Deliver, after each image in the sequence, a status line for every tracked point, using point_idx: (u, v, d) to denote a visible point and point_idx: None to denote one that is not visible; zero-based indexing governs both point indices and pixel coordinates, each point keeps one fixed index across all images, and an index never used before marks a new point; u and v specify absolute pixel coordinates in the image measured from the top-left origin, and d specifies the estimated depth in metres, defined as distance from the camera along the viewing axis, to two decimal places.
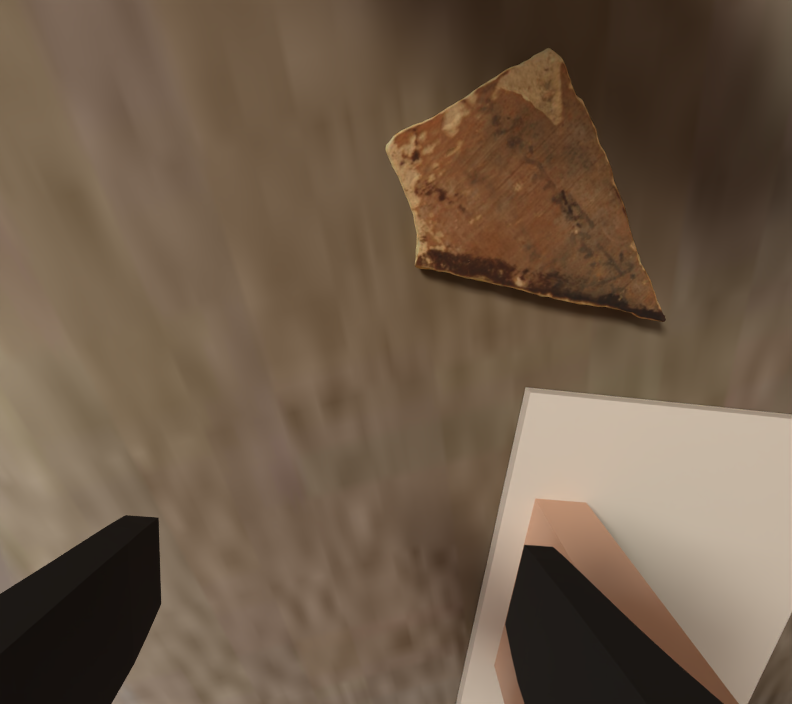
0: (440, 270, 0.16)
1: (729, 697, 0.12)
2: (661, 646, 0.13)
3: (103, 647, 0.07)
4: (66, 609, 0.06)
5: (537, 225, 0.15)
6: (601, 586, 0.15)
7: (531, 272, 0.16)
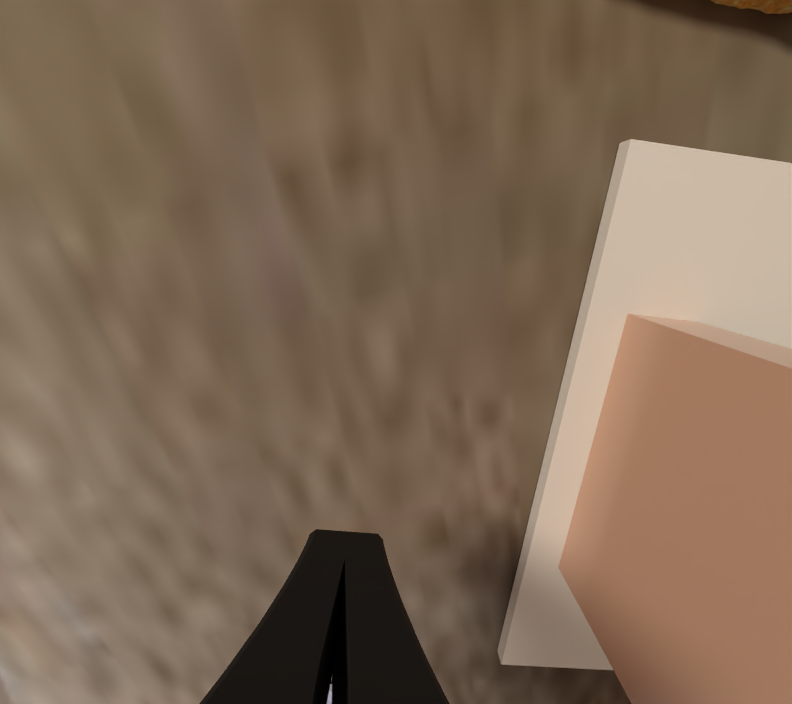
0: None
1: None
2: None
3: (330, 659, 0.07)
4: (329, 624, 0.06)
5: None
6: (779, 358, 0.09)
7: None
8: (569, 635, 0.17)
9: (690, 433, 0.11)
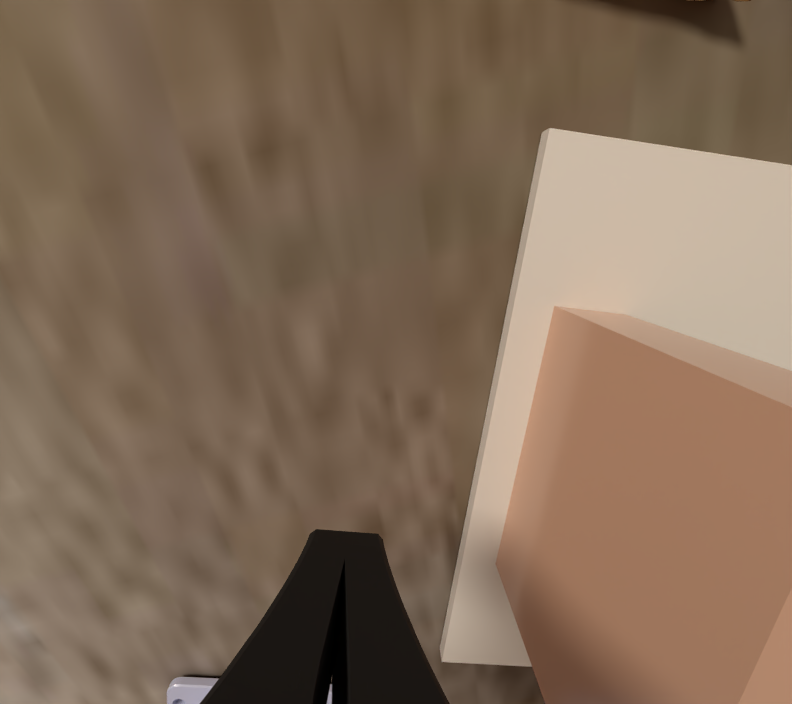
0: None
1: None
2: None
3: (330, 658, 0.07)
4: (329, 624, 0.06)
5: None
6: (671, 347, 0.09)
7: None
8: (510, 633, 0.17)
9: (596, 425, 0.11)
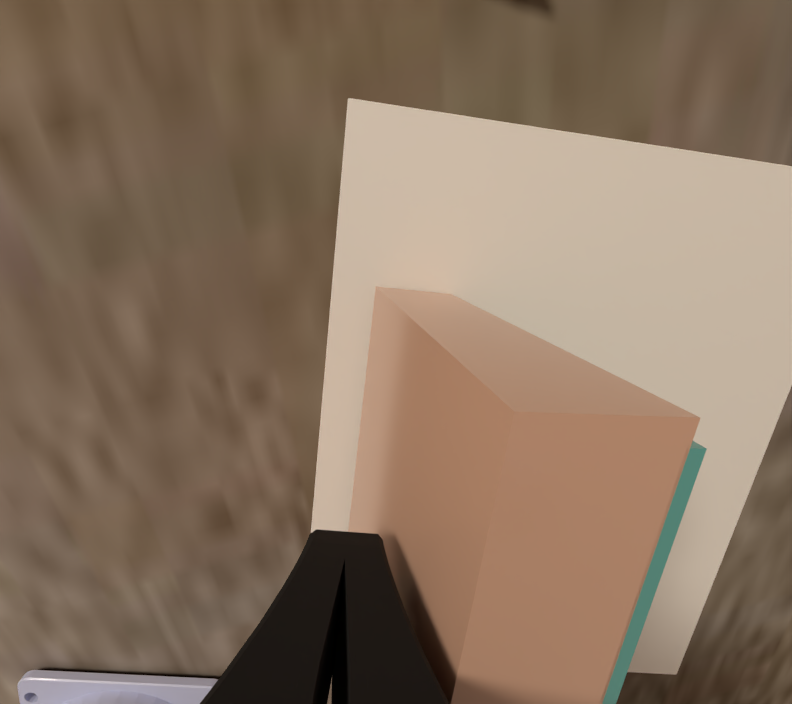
0: None
1: (651, 403, 0.06)
2: (529, 359, 0.07)
3: (330, 659, 0.07)
4: (329, 624, 0.06)
5: None
6: (442, 324, 0.08)
7: None
8: None
9: (391, 410, 0.10)
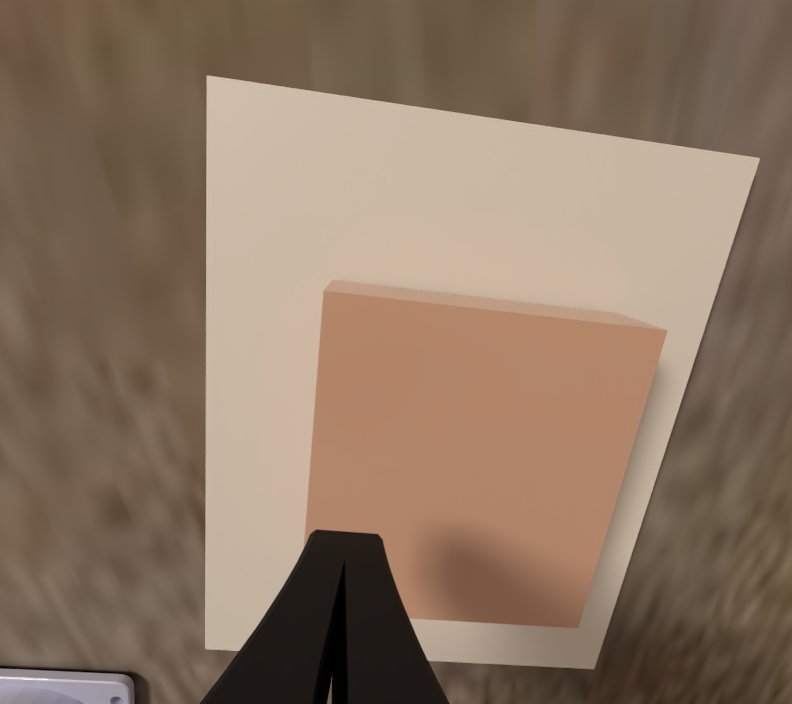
0: None
1: None
2: (572, 312, 0.12)
3: (330, 659, 0.07)
4: (329, 624, 0.06)
5: None
6: (507, 308, 0.11)
7: None
8: None
9: (462, 393, 0.11)
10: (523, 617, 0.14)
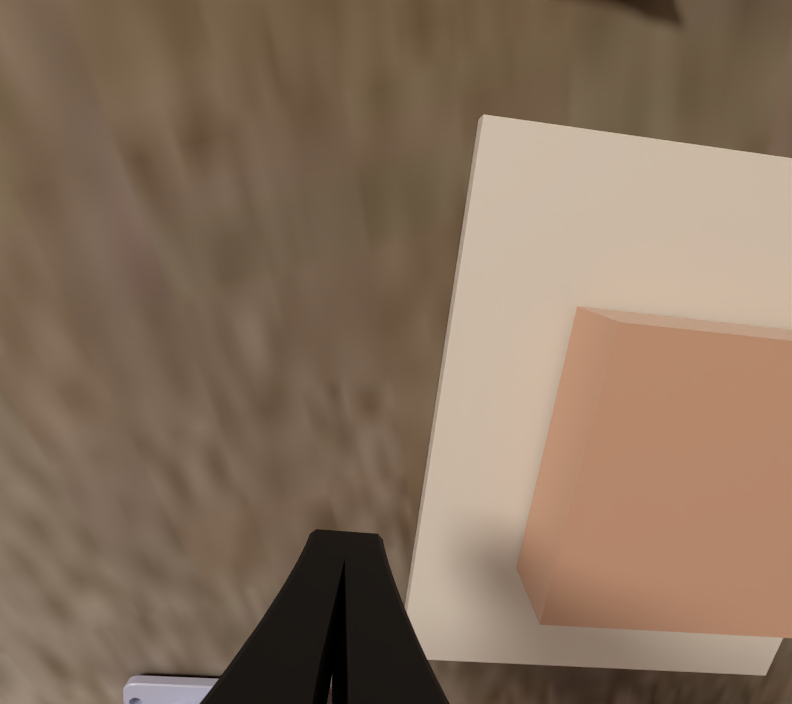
0: None
1: None
2: None
3: (330, 659, 0.07)
4: (329, 624, 0.06)
5: None
6: (773, 335, 0.12)
7: None
8: (467, 628, 0.17)
9: (730, 416, 0.12)
10: (748, 628, 0.14)
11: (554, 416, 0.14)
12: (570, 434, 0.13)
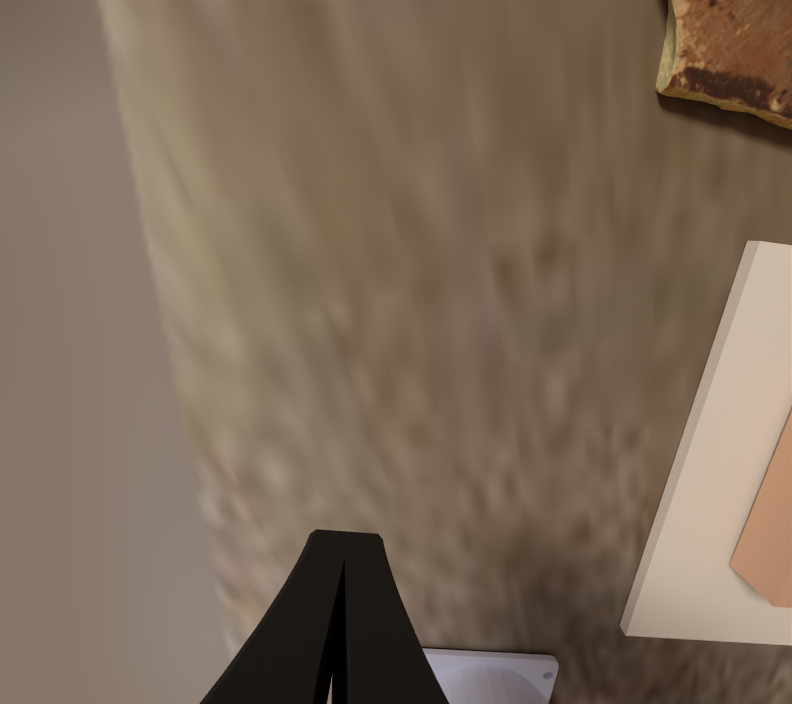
0: (693, 92, 0.15)
1: None
2: None
3: (330, 659, 0.07)
4: (329, 624, 0.06)
5: None
6: None
7: (790, 93, 0.15)
8: (681, 612, 0.22)
9: None
10: None
11: (780, 452, 0.19)
12: None
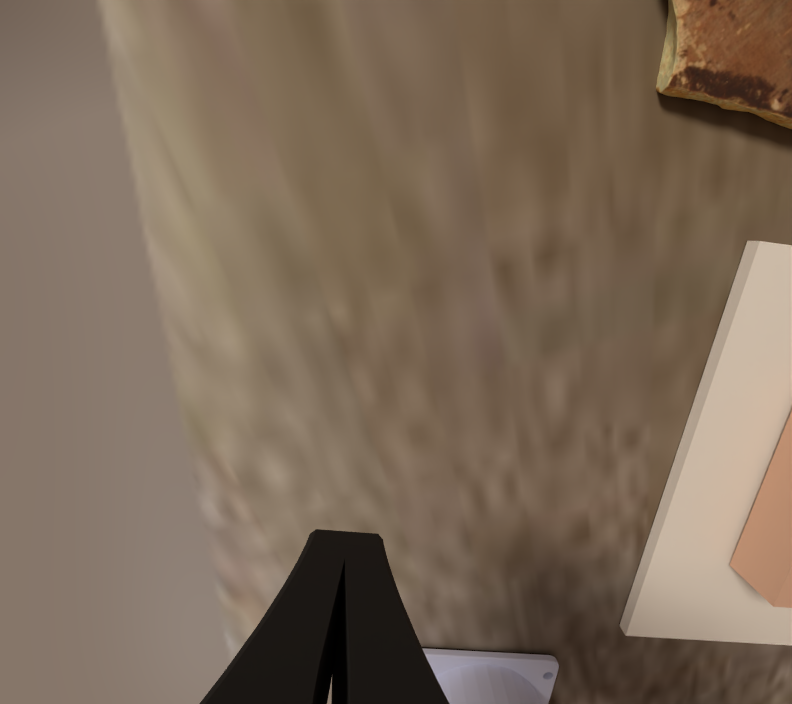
0: (694, 92, 0.15)
1: None
2: None
3: (330, 659, 0.07)
4: (329, 624, 0.06)
5: None
6: None
7: (791, 92, 0.15)
8: (681, 612, 0.22)
9: None
10: None
11: (780, 452, 0.19)
12: None
